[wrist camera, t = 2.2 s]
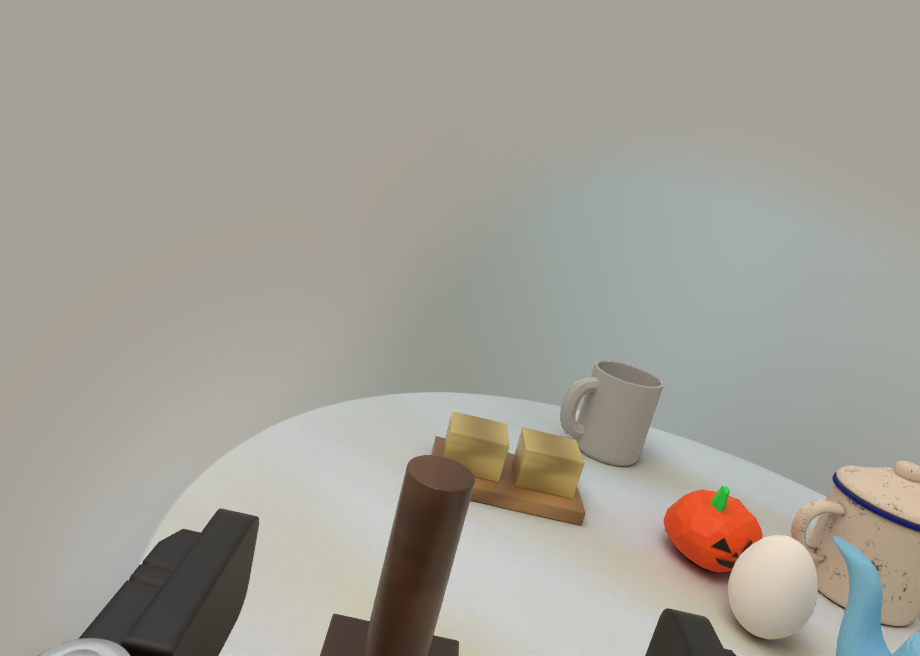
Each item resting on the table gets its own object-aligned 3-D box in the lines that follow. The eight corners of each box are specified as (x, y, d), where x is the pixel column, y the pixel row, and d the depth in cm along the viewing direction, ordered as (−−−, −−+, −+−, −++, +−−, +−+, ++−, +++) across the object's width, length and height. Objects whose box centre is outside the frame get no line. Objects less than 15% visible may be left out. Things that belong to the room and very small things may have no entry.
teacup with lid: (865, 564, 58) (918, 448, 55) (945, 638, 50) (1014, 506, 47) (744, 543, 57) (792, 423, 54) (805, 616, 48) (867, 478, 45)
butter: (426, 490, 52) (439, 438, 51) (432, 447, 60) (444, 401, 59) (581, 525, 53) (597, 475, 52) (568, 478, 61) (582, 433, 59)
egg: (699, 604, 46) (734, 515, 44) (756, 603, 48) (792, 518, 46) (750, 661, 42) (792, 564, 40) (812, 658, 43) (854, 566, 41)
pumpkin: (762, 568, 53) (791, 500, 52) (724, 600, 48) (755, 524, 46) (683, 521, 58) (707, 457, 56) (640, 545, 52) (665, 474, 50)
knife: (319, 830, 25) (399, 498, 22) (344, 723, 30) (413, 436, 26) (384, 844, 26) (475, 515, 22) (399, 734, 30) (475, 450, 27)
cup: (650, 470, 67) (677, 391, 65) (564, 462, 64) (589, 379, 62) (617, 437, 74) (641, 365, 71) (538, 428, 71) (560, 353, 68)
